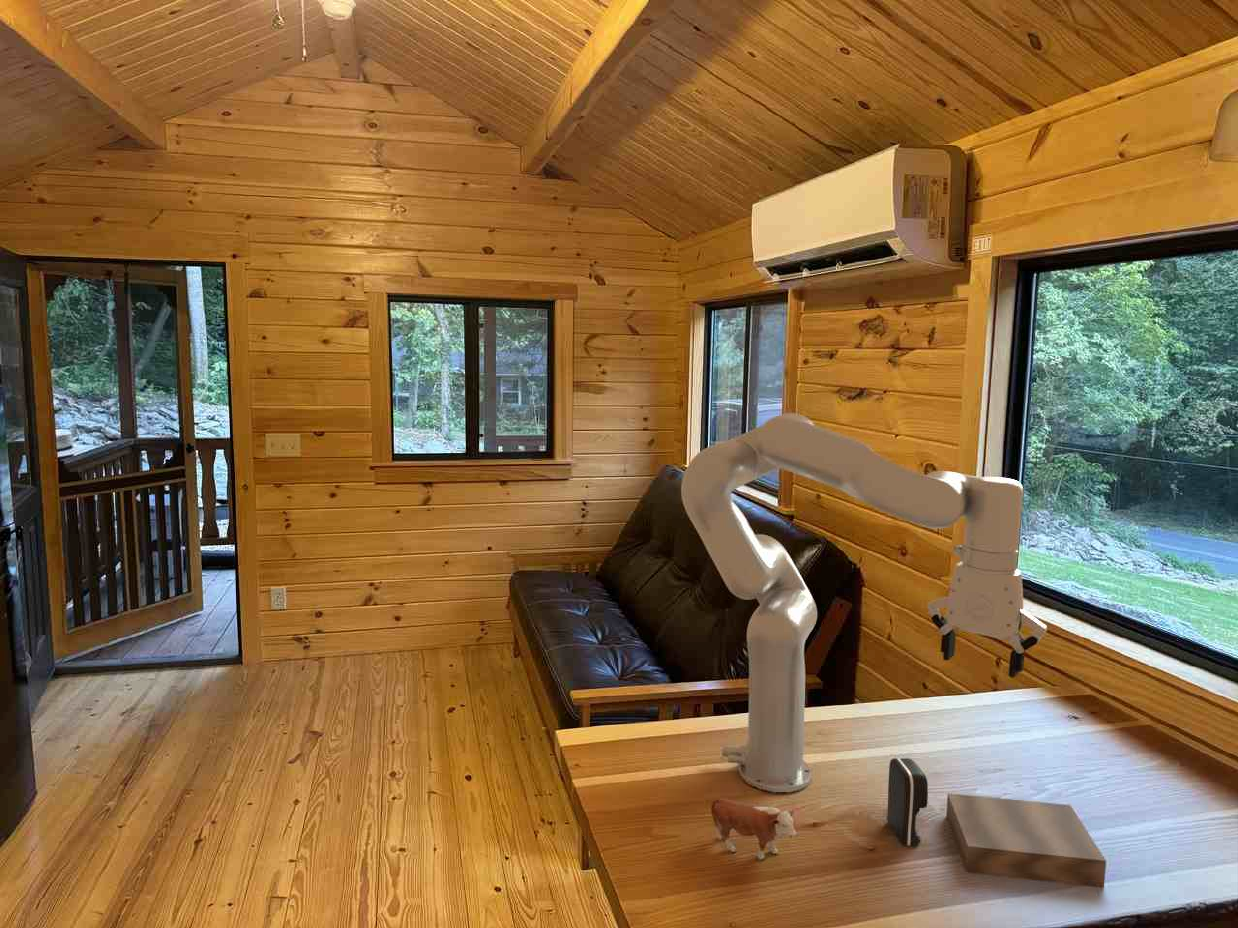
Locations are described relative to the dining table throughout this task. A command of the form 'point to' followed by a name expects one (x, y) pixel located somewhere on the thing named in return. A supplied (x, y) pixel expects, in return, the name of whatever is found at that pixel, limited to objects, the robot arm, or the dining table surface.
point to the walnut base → (1024, 840)
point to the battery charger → (905, 798)
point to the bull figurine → (751, 823)
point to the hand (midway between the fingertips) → (980, 665)
